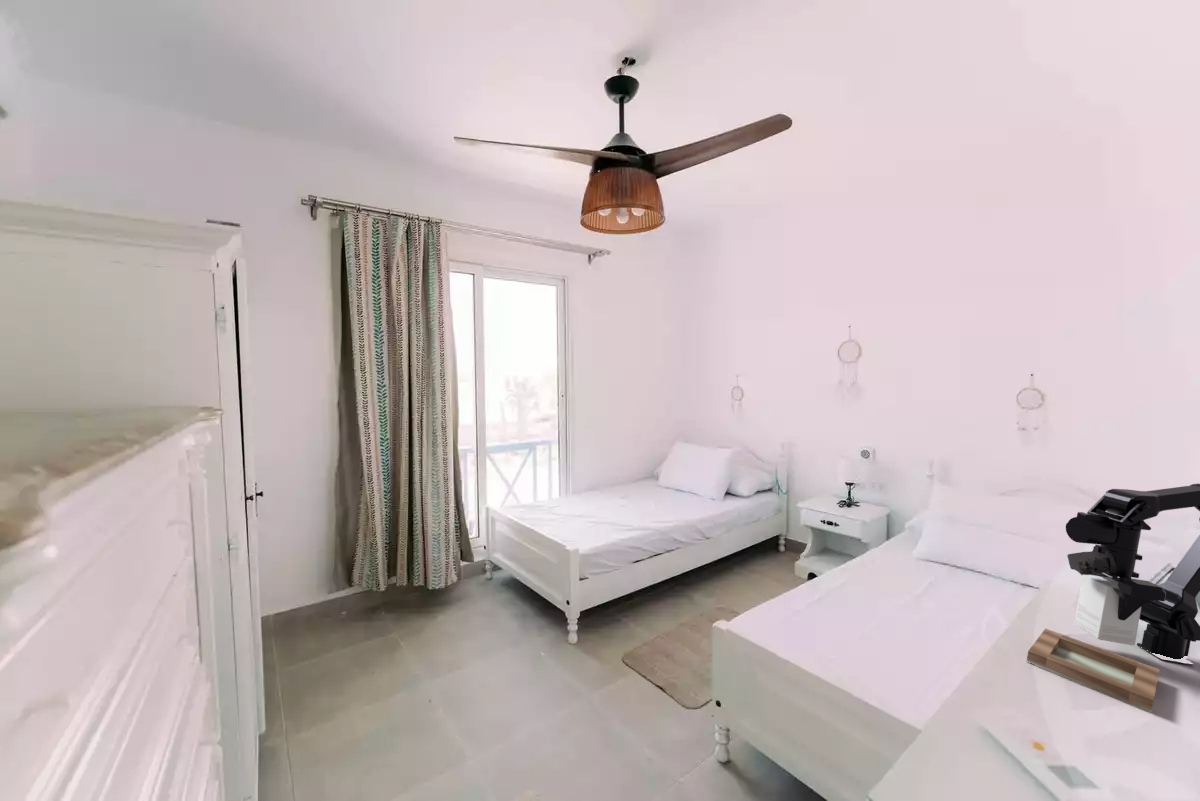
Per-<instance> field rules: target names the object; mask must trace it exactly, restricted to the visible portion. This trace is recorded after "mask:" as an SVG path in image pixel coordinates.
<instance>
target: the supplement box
mask: <svg viewBox="0 0 1200 801" xmlns="http://www.w3.org/2000/svg"><path fill="white" fill-rule="evenodd" d="M1113 588H1114V589H1119V587H1118V582H1117V581H1115V580H1113V579H1111V578H1109V577H1102V576H1095V575H1081V582H1080V590H1079V594H1078V601H1077V606H1076V613H1075V618H1074V625H1076V626H1077V627H1078V628H1080V629H1082V630H1083V631H1084V632H1086V633H1087V634H1089V635H1091V636H1092V637H1094V638H1095V639H1096V640H1100V641H1105V642H1111V643H1117V644H1123V645H1129V646H1135V645H1136V639H1137V634H1138V629H1139V624H1140V623H1139V622H1140V619H1139V617H1140V612H1141V607H1140V608H1139V609H1138V610H1136V611H1135V612H1134V613H1133V614H1132V615H1131V616H1129V617H1128V618H1127V619H1126V620H1120V619H1118V604H1119V596H1118V594H1117V593H1116V592H1115V591H1114V589H1113Z"/></svg>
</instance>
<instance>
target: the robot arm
mask: <svg viewBox="0 0 1200 801" xmlns="http://www.w3.org/2000/svg"><path fill="white" fill-rule="evenodd" d="M1189 508H1195V509H1196V510H1197V511H1198V512H1200V483H1192V484H1189V485H1183V486H1178V487H1177V486H1176V487H1175V486H1174V487H1169V488H1161V489H1154V490H1147V491H1146V490H1135V489H1126V488H1111V489H1108V490H1106V491H1105V494H1103V495H1102V496H1101V497H1100V498H1099V499H1098V500H1097V502H1095V503H1094V505H1092V507H1090V508H1089V510H1087V513H1086V512H1083V511H1078V512H1077V513H1076V516H1073V517H1071V518H1070V519H1069V520H1068V521H1067V523H1066V524H1065V532H1066V534H1067V536H1068V538H1070V540H1072V541H1073V542H1075V543H1077V544H1078V543H1080V544H1089V545H1090V544H1091V545H1094V546H1093V548H1092V551H1081V552H1080V551H1079V552H1074V553H1068V554H1066V555H1067V560H1068V565H1069V568H1070V569H1071V570H1074V571H1076V572H1078V573H1079V574H1080V575H1081V576H1082V575H1095V576H1102V577H1109V578H1111V579H1113V580H1115V581H1117V582H1118V587H1119V589H1114V588H1113V589H1114V591H1115V592H1116V593H1117V594H1118V596H1119V604H1118V619H1120V620H1126V619H1127V618H1128V617H1129V616H1131V615H1132V614H1133V613H1134V612H1135V611H1136V610H1138V609H1139V608H1140V607H1141V612H1140V617H1139V621H1141V622H1145V623H1146V629H1144V630H1143V635H1142V640H1141V643H1140V642H1137V643H1136V646H1137V647H1139V646H1140V647H1139V648H1141V647H1142V648H1143V650H1144V649H1145V650H1144V651H1146V650H1148V651H1149V652H1151V653H1155V654H1160V655H1163V656H1166V657H1170V658H1173V659H1181V658H1183V657H1184V656H1188V657H1189V652H1190V647H1191V642H1194V643H1196V642H1197V641H1198V642H1199V641H1200V624H1199V622H1197V620H1196V617H1197V615H1198V613H1199V608H1198V605H1197V600H1196V598H1197V596H1198V595H1199V593H1200V534H1199V535H1198V536H1197V538H1196V540H1194V542H1193V543H1192V545H1191V546H1190V548H1188V550H1187V551H1186V552H1185V554H1184V555H1183V557H1182V559H1181V560H1180V561H1179V562H1178V564H1177V565H1176V566H1175V568H1174V569H1173V570H1172V572H1171V573H1170V574H1169V576H1168V577H1167V579H1166V580H1165V581H1164V582H1162V583H1159V584H1155V583H1153V582H1151V581H1149V580H1144V579H1139V576H1140V573H1138V572H1137V571H1135V566H1136V562H1137V561H1143V555H1141V554H1139V553H1138V551H1139V546H1140V545H1139V543H1140V539H1141V534H1142V530H1143V531H1151V530H1152V527H1151V526H1150V525H1149V524H1148V523H1146V520H1149V519H1152V518H1155V517H1157V516H1158V515H1159V514H1160V512H1163V511H1170V510H1172V511H1173V510H1179V509H1189ZM1199 522H1200V517H1199ZM1142 648H1141V649H1142ZM1149 652H1148V653H1149Z"/></svg>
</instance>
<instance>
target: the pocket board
mask: <svg viewBox="0 0 1200 801" xmlns="http://www.w3.org/2000/svg"><path fill="white" fill-rule="evenodd" d="M1026 656H1027V657H1026V662H1027V661H1028V662H1030V663H1032V664H1031V665H1033V664H1034V665H1033V666H1035V665H1036V667H1038V668H1040V669H1042V668H1043V670H1046V671H1047V672H1050V673H1053V674H1055V675H1056V676H1060V677H1062V678H1065V679H1067V680H1069V681H1072V682H1074V683H1076V684H1079V685H1082V686H1085V687H1086V688H1090V689H1092V690H1093V691H1097V692H1099V693H1101V694H1104V695H1105V696H1109V697H1111V698H1112V699H1113V698H1114V699H1116V700H1119V701H1120V702H1123V703H1126V704H1128V705H1130V706H1133V707H1135V708H1138V709H1140V710H1142V711H1145V712H1148V713H1150V714H1152V712H1153V707H1154V701H1155V697H1156V696H1155V695H1156V691H1157V684H1158V680H1159V674H1160V668H1157V667H1154V666H1151V665H1148V664H1145V663H1143V662H1140V661H1137V660H1135V659H1132V658H1129V657H1126V656H1123V655H1121V654H1118V653H1115V652H1113V651H1110V650H1106V649H1103V648H1102V647H1099V646H1095V645H1092V644H1090V643H1088V642H1085V641H1082V640H1079V639H1076V638H1073V637H1071V636H1069V635H1065V634H1062V633H1059V632H1056V631H1054V630H1051V629H1049V628H1044V630H1043V631H1042V632H1041V633H1040V635H1039V636H1038V638H1037V639H1036V640H1035V642H1034V643H1033V644H1032V645H1031V646H1030V648H1029V649H1028V652H1027V655H1026ZM1028 662H1027V663H1028ZM1030 663H1029V664H1030Z"/></svg>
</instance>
